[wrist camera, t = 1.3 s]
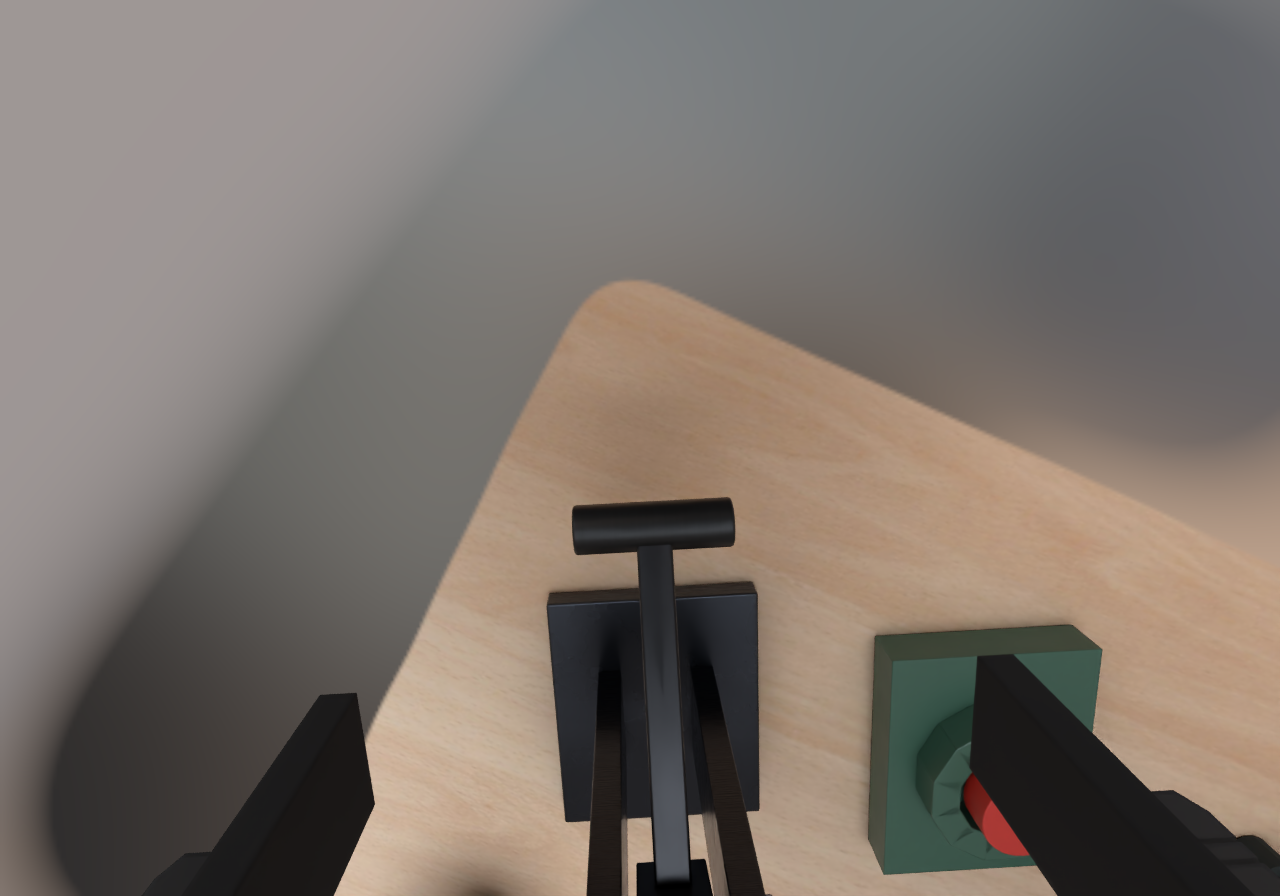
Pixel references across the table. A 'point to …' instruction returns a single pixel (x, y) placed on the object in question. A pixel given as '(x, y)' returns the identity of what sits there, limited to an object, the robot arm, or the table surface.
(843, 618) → the table surface
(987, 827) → the button
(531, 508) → the table surface
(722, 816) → the switch bracket
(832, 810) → the table surface
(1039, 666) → the button box
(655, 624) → the switch lever
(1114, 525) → the table surface
